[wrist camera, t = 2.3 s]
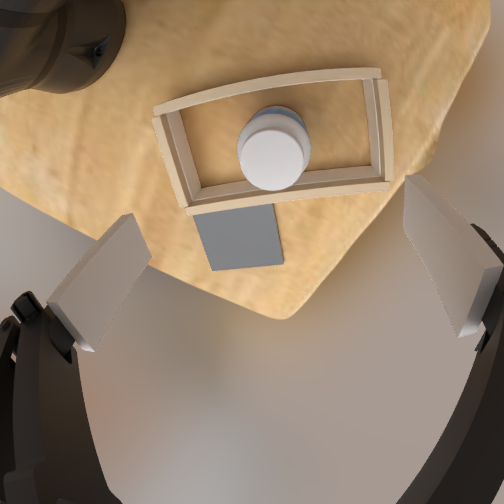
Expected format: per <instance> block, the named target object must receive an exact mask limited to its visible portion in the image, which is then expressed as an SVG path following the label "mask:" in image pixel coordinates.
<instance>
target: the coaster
mask: <svg viewBox="0 0 504 504" xmlns="http://www.w3.org/2000/svg"><path fill="white" fill-rule="evenodd" d="M193 218H194V220H195V223H196V226H197V229H198V232H199V235H200V238H201V241H202V243H203V246H204V249H205V252H206V255H207V257H208V260H209V263H210V266H211V269H212V271H218V270H229V269H239V268H250V267H260V266H271V265H281V264H284V260H283V255H282V249H281V244H280V238H279V233H278V228H277V222H276V217H275V212H274V207H273V203H271V204H264V205H257V206H249V207H242V208H236V209H229V210H222V211H216V212H209V213H203V214H197V215H193Z"/></svg>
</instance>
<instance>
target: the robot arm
mask: <svg viewBox="0 0 504 504" xmlns="http://www.w3.org/2000/svg"><path fill="white" fill-rule="evenodd" d="M124 31H125V11H124V7H123V4H122V2H121V1H120V0H0V98H1V97H4V96H6V95H9V94H13V93H16V92H19V91H22V90H26V89H30V88H31V89H36V90H41V91H46V92H51V93H56V94H63V93H69V92H73V91H78V90H81V89H83V88H86V87H88V86H89V85H91V84H92V83H94V82H95V81H96V80H97V79H99V78H100V77H101V76H102V75H103V74H104V72H105V71H106V70H107V69H108V68H109V66H110V65H111V63H112V62H113V60H114V58H115V57H116V55H117V53H118V50H119V48H120V46H121V43H122V40H123V36H124ZM403 231H404V232H405V234H406V236H407V237H408V239H409V241H410V242H411V244H412V246H413V248H414V249H415V251H416V253H417V255H418V256H419V258H420V260H421V262H422V263H423V265H424V267H425V269H426V271H427V273H428V275H429V277H430V279H431V281H432V283H433V284H434V286H435V289H436V290H437V292H438V295H439V296H440V299H441V301H442V303H443V305H444V307H445V310H446V312H447V314H448V316H449V318H450V320H451V323H452V325H453V328H454V330H455V332H456V335H457V337H462V336H466V335H470V334H474V333H476V331H477V329H478V327H479V325H480V323H481V321H483V323H484V326H485V328H486V330H485V332H484V334H483V336H482V338H481V340H480V342H479V343H478V345H477V347H476V348H475V351H477V350H478V352H477V355H476V358H475V361H474V364H473V367H472V369H471V372H470V375H469V377H468V380H467V382H466V385H465V387H464V390H463V392H462V394H461V397H460V399H459V401H458V404H457V406H456V408H455V410H454V412H453V414H452V416H451V418H450V420H449V422H448V424H447V426H446V428H445V430H444V432H443V434H442V436H441V437H440V439H439V441H438V443H437V444H436V446H435V448H434V449H433V451H432V453H431V454H430V456H429V458H428V459H427V461H426V463H425V464H424V466H423V467H422V469H421V470H420V472H419V473H418V475H417V476H416V477H415V479H414V480H413V482H412V483H411V485H410V486H409V487H408V489H407V490H406V491H405V493H404V494H403V495H402V497H401V498H400V499H399V500H398V502H397V503H396V504H491V503H492V501H493V500H494V498H495V496H496V494H497V492H498V490H499V488H500V486H501V484H502V482H503V480H504V254H503V252H502V251H501V250H500V248H499V247H497V245H496V244H495V243H494V241H493V240H491V238H490V237H489V235H488V234H487V233H486V232H485V231H484V230H482V229H481V228H480V227H478V226H476V225H475V224H469V223H468V222H467V220H466V219H465V218H464V217H463V216H462V215H461V214H460V213H459V212H458V211H457V210H456V209H455V208H454V207H453V206H452V205H451V204H450V203H449V202H448V201H447V200H446V199H445V198H444V197H443V196H442V195H441V194H440V193H439V192H438V191H437V190H436V189H435V188H434V187H433V186H432V185H431V184H429V183H428V182H427V181H426V180H425V179H424V178H423V177H422V176H421V175H405V199H404V219H403ZM151 257H152V256H151V254H150V252H149V249H148V247H147V245H146V243H145V240H144V238H143V236H142V234H141V231H140V229H139V227H138V224H137V222H136V219H135V217H134V215H133V213H131V214H127V215H122V216H121V217H120V218H119V219H118V220H117V221H116V222H115V223H114V224H113V225H112V226H111V227H110V228H109V229H108V230H107V231H106V232H105V233H104V234H103V235H102V237H101V238H100V239H99V240H98V241H97V242H96V243H95V244H94V245H93V246H92V247H91V249H90V250H89V251H88V252H87V253H86V254H85V255H84V256H83V257H82V259H81V260H80V261H79V262H78V263H77V264H76V266H75V267H74V268H73V269H72V270H71V271H70V273H69V274H68V275H67V276H66V277H65V279H64V280H63V281H62V282H61V284H60V285H59V286H58V287H57V289H56V290H55V291H54V292H53V294H52V295H51V296H50V297H49V299H48V300H47V304H48V305H47V306H46V308H45V309H43V307H42V306H41V304H40V303H39V302H38V300H37V299H36V297H35V296H34V294H33V293H32V292H31V291H27V292H25V293H23V294H22V295H21V296H20V297H18V298H17V299H16V300H15V301H14V303H13V304H12V306H11V310H12V311H13V312H14V314H15V315H16V316H17V318H18V319H19V320H20V321H21V323H19V322H18V321H17V319H16V318H15V317H14V316H9V317H8V318H5V319H4V320H3V321H2V322H1V324H0V501H1V502H0V504H122V503H121V501H120V500H119V499H118V498H117V497H115V496H114V494H112V493H111V491H110V490H109V488H108V486H107V483H106V481H105V478H104V475H103V472H102V469H101V466H100V463H99V460H98V456H97V453H96V449H95V446H94V442H93V439H92V435H91V431H90V427H89V422H88V418H87V413H86V409H85V403H84V398H83V393H82V387H81V381H80V374H79V367H78V358H77V352H76V349H75V348H74V347H73V346H72V345H73V343H74V342H75V341H76V342H77V343H78V344H79V346H80V347H81V348H82V349H83V350H86V351H93V352H95V351H96V349H97V347H98V345H99V344H100V342H101V340H102V338H103V336H104V335H105V333H106V331H107V329H108V328H109V326H110V324H111V322H112V321H113V319H114V317H115V315H116V314H117V312H118V310H119V309H120V307H121V305H122V304H123V302H124V300H125V299H126V297H127V295H128V293H129V292H130V290H131V289H132V287H133V286H134V284H135V282H136V281H137V279H138V278H139V276H140V274H141V273H142V271H143V270H144V268H145V267H146V265H147V264H148V262H149V260H150V259H151ZM12 353H13V354H14V355H15V356H16V363H15V362H14V361H13V360H12V359H11V355H12Z"/></svg>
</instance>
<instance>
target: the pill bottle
mask: <svg viewBox="0 0 504 504" xmlns="http://www.w3.org/2000/svg"><path fill="white" fill-rule="evenodd" d="M237 155H238V159H239V161H240V166H241V170H242V172H243V174H244V176H245V177H246V178H247V180H248V181H249V182H251V183H252V184H253V185H255V186H256V187H258V188H261V189H264V190H270V191H276V190H282V189H285V188H287V187H289V186H291V185H292V184H293V183H295V182H296V181H297V179H298V178H299V177H300V175H301V173H302V172H303V171H304V170H305V168H306V167H307V165H308V163H309V160H310V156H311V144H310V140H309V137H308V133H307V130H306V127H305V124H304V122H303V120H302V119H301V117H300V116H299V115H298V114H297V113H296V112H294V111H293V110H291V109H289V108H286V107H283V106H268V107H265V108H263V109H261V110H260V111H258V112H257V113H256V114H255V115H254V116H253V117H252V118H251V120H250V121H249V122H248V123H247V124H246V126H245V127H244V128H243V130H242V131H241V133H240V135H239V138H238V142H237Z"/></svg>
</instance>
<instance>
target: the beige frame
mask: <svg viewBox="0 0 504 504" xmlns="http://www.w3.org/2000/svg"><path fill="white" fill-rule="evenodd" d="M377 78H382V76H381V69H380V68H375V67H360V68H336V69H323V70H312V71H302V72H294V73H287V74H280V75H273V76H267V77H262V78H256V79H251V80H246V81H241V82H237V83H232V84H228V85H224V86H219V87H215V88H211V89H208V90H204V91H200V92H197V93H193V94H190V95H186V96H183V97H180V98H177V99H174V100H171V101H168V102H165V103H162V104H159V105H158V106H155V107H152V108H153V111H154V115H155V116H157V117H155V118H152V119H151V121H152V124H153V127H154V131H155V134H156V137H157V140H158V144H159V147H160V150H161V153H162V156H163V160H164V163H165V166H166V169H167V172H168V175H169V178H170V181H171V184H172V187H173V190H174V193H175V196H176V199H177V201H178V204H179V207H180V208H182V207H185V208H184V209H185V212H186V215H187V216H191V215H197V214H203V213H209V212H216V211H222V210H229V209H236V208H242V207H249V206H257V205H264V204H271V203H279V202H287V201H295V200H303V199H312V198H321V197H330V196H340V195H350V194H361V193H372V192H384V191H390V182H389V181H394V148H393V131H392V118H391V107H390V98H389V90H388V82H387V79H377ZM359 79H362V82H363V89H364V96H365V103H366V111H367V120H368V130H369V142H370V155H371V166H359V167H347V168H337V169H327V170H318V171H309V172H302V173H301V175H300V177H299V178H298V179H297V181H296V182H295V183H293V184H292V185H291V186H289V187H287V188H285V189H282V190H276V191H270V190H264V189H261V188H258V187H256V186H255V185H253V184H252V183H251V182H249V181H248V180H244V181H238V182H232V183H227V184H221V185H215V186H210V187H205V188H202V187H201V184H200V180H199V177H198V174H197V170H196V167H195V164H194V160H193V157H192V153H191V150H190V147H189V143H188V140H187V136H186V133H185V129H184V126H183V122H182V118H181V115H180V111H179V109H183V108H186V107H190V106H193V105H197V104H200V103H204V102H208V101H212V100H216V99H220V98H224V97H229V96H233V95H238V94H242V93H247V92H253V91H258V90H263V89H269V88H275V87H282V86H289V85H297V84H305V83H314V82H325V81H338V80H359ZM158 115H160V116H158Z"/></svg>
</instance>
